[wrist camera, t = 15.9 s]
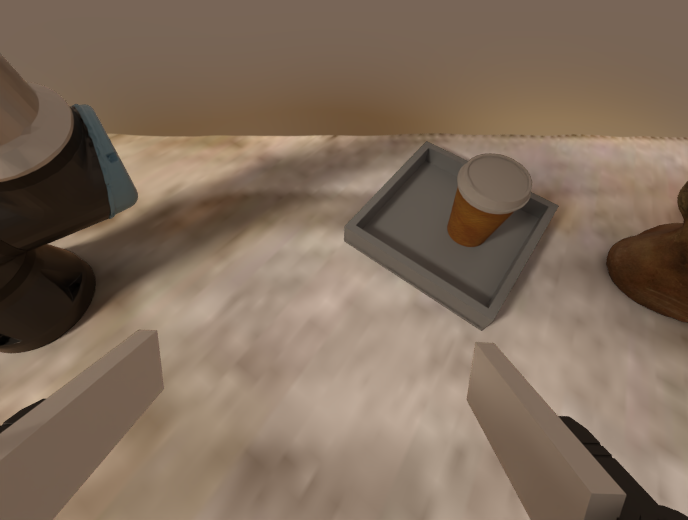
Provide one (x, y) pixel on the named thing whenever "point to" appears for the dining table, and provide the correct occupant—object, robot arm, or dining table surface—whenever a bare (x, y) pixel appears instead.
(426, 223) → the grey tray
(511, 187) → the disposable coffee cup
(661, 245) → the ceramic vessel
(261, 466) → the dining table surface
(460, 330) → the dining table surface
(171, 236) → the dining table surface
